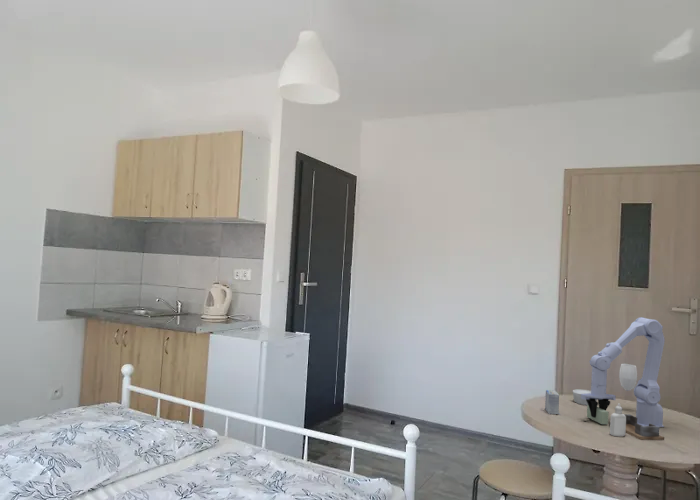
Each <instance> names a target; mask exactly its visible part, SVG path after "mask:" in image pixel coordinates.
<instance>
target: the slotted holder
mask: <svg viewBox="0 0 700 500" xmlns="http://www.w3.org/2000/svg"><path fill="white" fill-rule="evenodd" d="M623 414H624V415H625V416H626V433H625V434H628V435H630V436H632V437H633V438H636V439H638V440H640V441H641V440H642V441H665V437H664V436H662V435H660V428H661V427H657V426H655V425H653V424H649V426H642V425H639V424H637V417H636V416H634V415H633V414H625V413H623Z"/></svg>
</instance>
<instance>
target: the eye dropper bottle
mask: <svg viewBox="0 0 700 500" xmlns="http://www.w3.org/2000/svg"><path fill="white" fill-rule="evenodd" d="M624 414H625V413H623V407H621V403H617V405H616V406H615V409H614V412H613V413H611V414H610V421H609V434H610V435H611V436H613V437H625V436H626V434H627V433H626V416H625V415H624Z"/></svg>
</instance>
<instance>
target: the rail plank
mask: <svg viewBox="0 0 700 500" xmlns="http://www.w3.org/2000/svg"><path fill="white" fill-rule="evenodd" d="M586 409H587V410H586V417H587V418H588V419H590V420H592V421H595V422H596V423H598V424H600V425H609V412H610V411H607V409H606V410H603V409H601V408H599V406H597V410H596V418H594V417H592V416H591V412H590V408H589V405H586Z"/></svg>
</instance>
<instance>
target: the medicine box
mask: <svg viewBox="0 0 700 500" xmlns="http://www.w3.org/2000/svg"><path fill="white" fill-rule="evenodd" d="M544 400H545V401H544V402H545V403H544V404H545V405H544V409H545V411H546V412H547V414H548V415H549V414H550V415H556V414H558V415H559V412H560V409H559V408H560V394H559V393H558V392H557V390H551V389H546V390H545V399H544Z"/></svg>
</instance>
